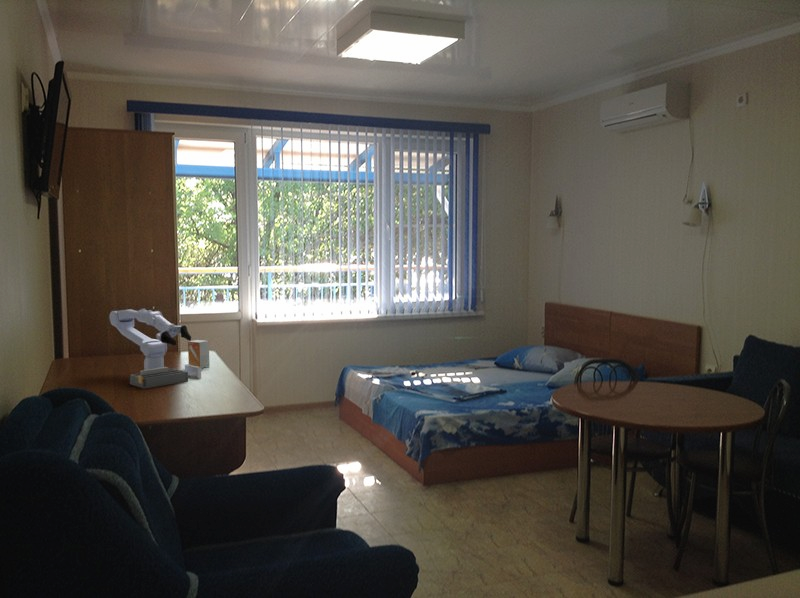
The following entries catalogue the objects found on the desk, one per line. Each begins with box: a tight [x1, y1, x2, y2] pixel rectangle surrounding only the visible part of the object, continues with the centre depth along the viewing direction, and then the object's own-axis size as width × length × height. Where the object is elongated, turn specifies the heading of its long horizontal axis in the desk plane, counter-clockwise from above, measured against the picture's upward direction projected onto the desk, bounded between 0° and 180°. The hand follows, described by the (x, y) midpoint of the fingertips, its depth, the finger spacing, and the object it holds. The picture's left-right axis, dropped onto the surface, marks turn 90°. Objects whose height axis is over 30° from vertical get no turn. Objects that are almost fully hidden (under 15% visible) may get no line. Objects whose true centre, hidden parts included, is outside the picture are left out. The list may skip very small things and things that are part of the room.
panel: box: [184, 363, 202, 379], centre depth 308 cm, size 12×2×5 cm, turn 45°
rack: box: [129, 366, 189, 389], centre depth 294 cm, size 14×20×6 cm, turn 135°
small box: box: [187, 339, 210, 369], centre depth 331 cm, size 8×6×13 cm
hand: (182, 341), depth 299 cm, fingers open, 7 cm apart
